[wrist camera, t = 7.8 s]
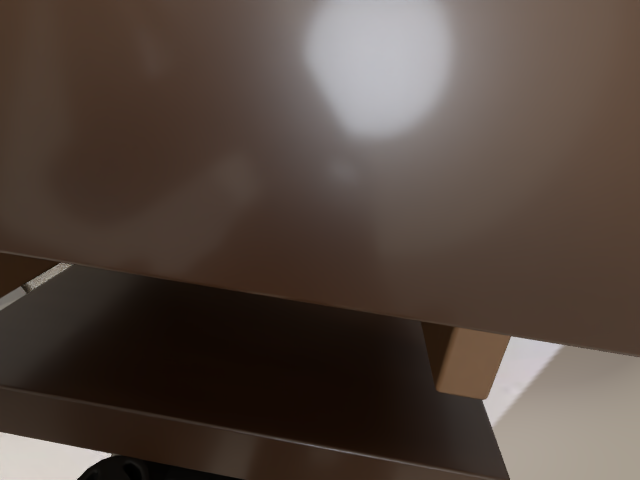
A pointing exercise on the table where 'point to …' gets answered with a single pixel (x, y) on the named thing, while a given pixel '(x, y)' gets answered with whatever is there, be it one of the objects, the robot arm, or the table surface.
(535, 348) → the table surface
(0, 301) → the flask
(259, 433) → the drawer
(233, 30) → the cabinet
